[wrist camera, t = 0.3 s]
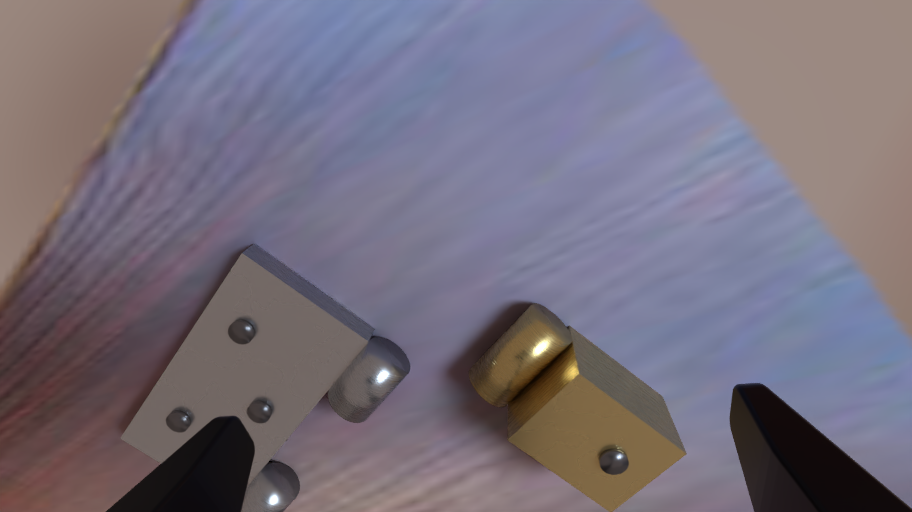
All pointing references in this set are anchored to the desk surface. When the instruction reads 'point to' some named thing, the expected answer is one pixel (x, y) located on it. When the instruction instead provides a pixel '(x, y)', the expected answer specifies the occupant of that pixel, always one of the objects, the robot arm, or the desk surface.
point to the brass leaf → (577, 408)
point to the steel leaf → (267, 371)
